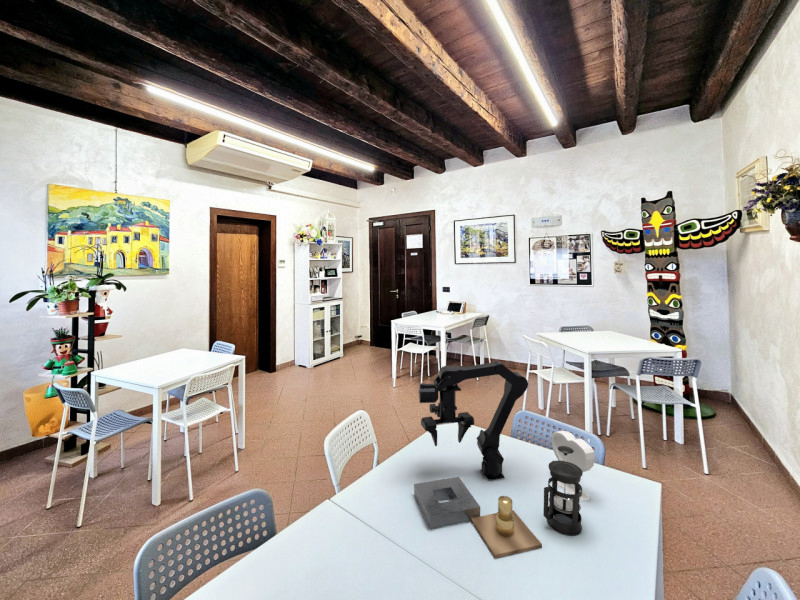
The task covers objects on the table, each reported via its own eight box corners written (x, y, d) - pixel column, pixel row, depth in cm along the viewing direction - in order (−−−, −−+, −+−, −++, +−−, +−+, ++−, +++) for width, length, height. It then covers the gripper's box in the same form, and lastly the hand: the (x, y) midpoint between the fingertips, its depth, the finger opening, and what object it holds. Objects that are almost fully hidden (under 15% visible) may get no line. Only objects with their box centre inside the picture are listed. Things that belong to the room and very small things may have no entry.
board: (512, 512, 106) (512, 509, 106) (542, 547, 92) (542, 544, 92) (471, 521, 103) (471, 518, 103) (494, 558, 89) (494, 555, 89)
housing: (458, 487, 119) (458, 476, 119) (480, 519, 103) (480, 506, 103) (414, 495, 115) (414, 483, 115) (429, 529, 100) (429, 516, 99)
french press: (568, 510, 107) (569, 438, 105) (591, 532, 98) (594, 453, 96) (535, 516, 104) (536, 443, 102) (556, 540, 95) (557, 459, 93)
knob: (507, 522, 101) (508, 493, 100) (517, 535, 96) (518, 504, 95) (492, 525, 99) (492, 496, 99) (501, 538, 94) (502, 507, 94)
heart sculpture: (548, 476, 125) (549, 428, 123) (560, 474, 126) (561, 426, 125) (583, 503, 110) (584, 449, 109) (595, 500, 111) (597, 446, 110)
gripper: (461, 392, 134) (461, 431, 135) (416, 397, 129) (416, 437, 130) (475, 402, 123) (474, 444, 124) (425, 408, 118) (426, 451, 120)
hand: (447, 444), depth 125 cm, fingers open, 9 cm apart
